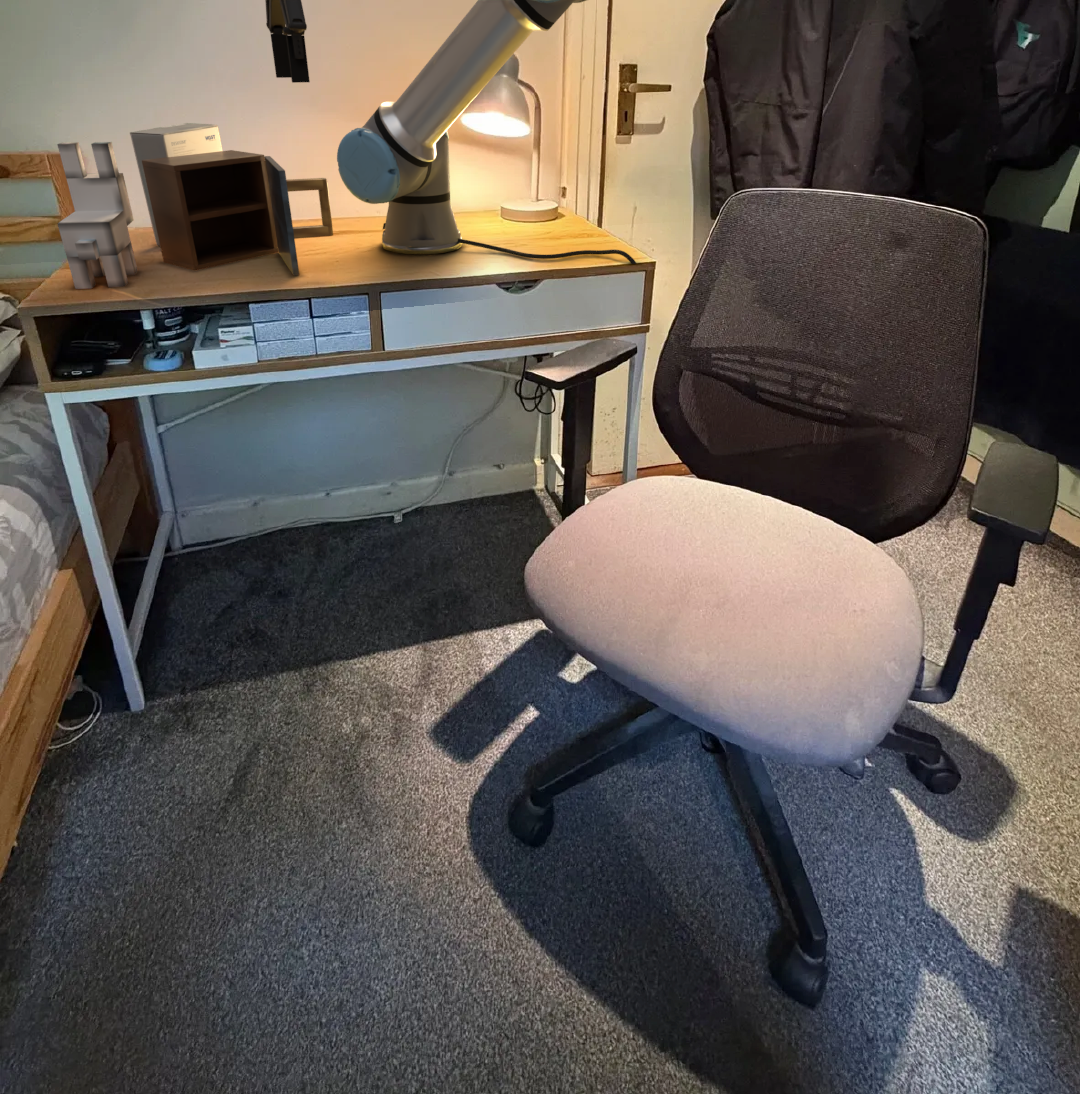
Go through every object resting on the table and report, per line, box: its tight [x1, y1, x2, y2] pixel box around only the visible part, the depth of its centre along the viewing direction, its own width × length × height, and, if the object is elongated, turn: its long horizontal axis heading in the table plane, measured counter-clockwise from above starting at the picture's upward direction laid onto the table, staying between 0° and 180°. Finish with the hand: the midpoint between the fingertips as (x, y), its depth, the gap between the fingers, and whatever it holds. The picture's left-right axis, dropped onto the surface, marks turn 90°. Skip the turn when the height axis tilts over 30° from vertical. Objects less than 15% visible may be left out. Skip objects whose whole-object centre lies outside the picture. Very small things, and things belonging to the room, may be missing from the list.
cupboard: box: [142, 149, 279, 272], centre depth 150 cm, size 10×18×17 cm, turn 143°
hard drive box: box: [129, 122, 224, 247], centre depth 161 cm, size 16×8×20 cm, turn 159°
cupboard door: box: [264, 155, 334, 277], centre depth 147 cm, size 8×18×16 cm, turn 23°
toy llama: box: [57, 141, 139, 290], centre depth 136 cm, size 8×18×20 cm, turn 11°
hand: (292, 80), depth 142 cm, fingers open, 13 cm apart
